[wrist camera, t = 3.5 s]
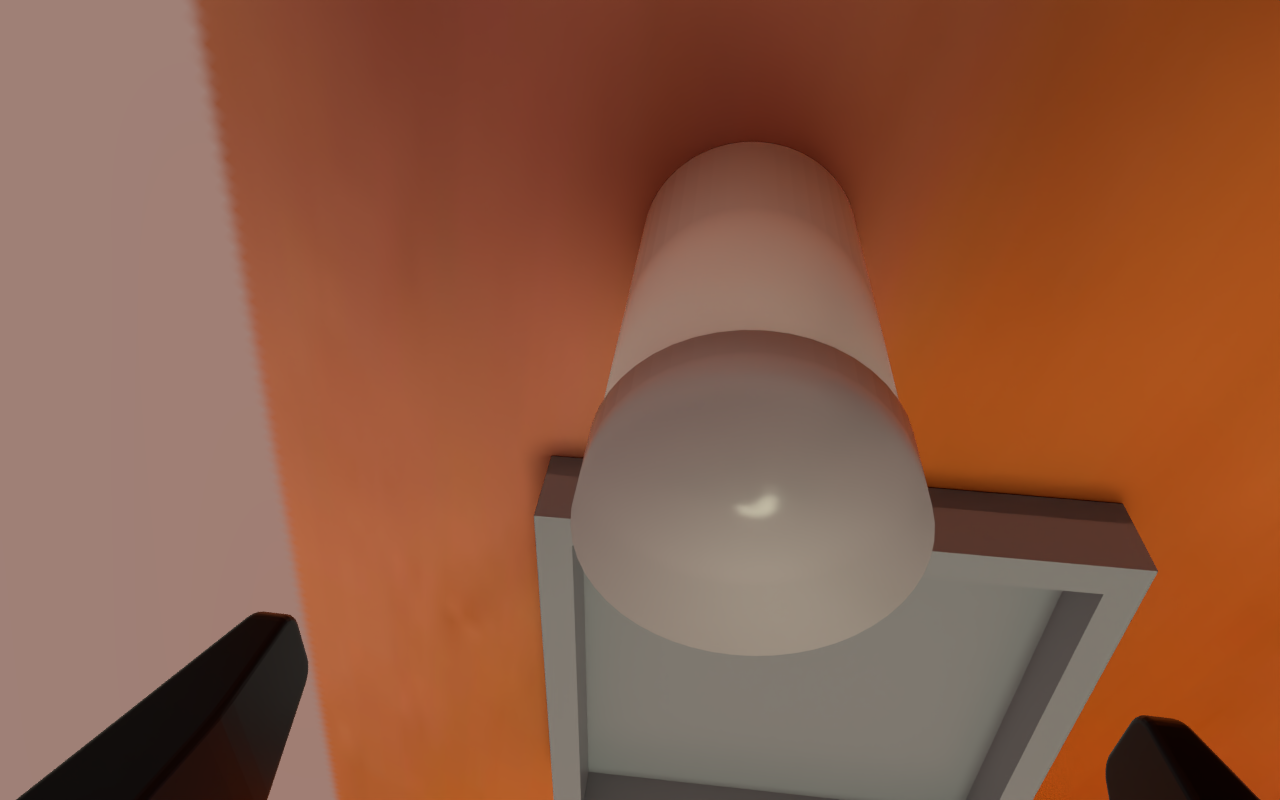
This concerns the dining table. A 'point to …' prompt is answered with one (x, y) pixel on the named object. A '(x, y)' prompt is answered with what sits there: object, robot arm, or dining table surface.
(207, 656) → the robot arm
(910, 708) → the tray
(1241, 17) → the dining table surface
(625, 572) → the shaker
